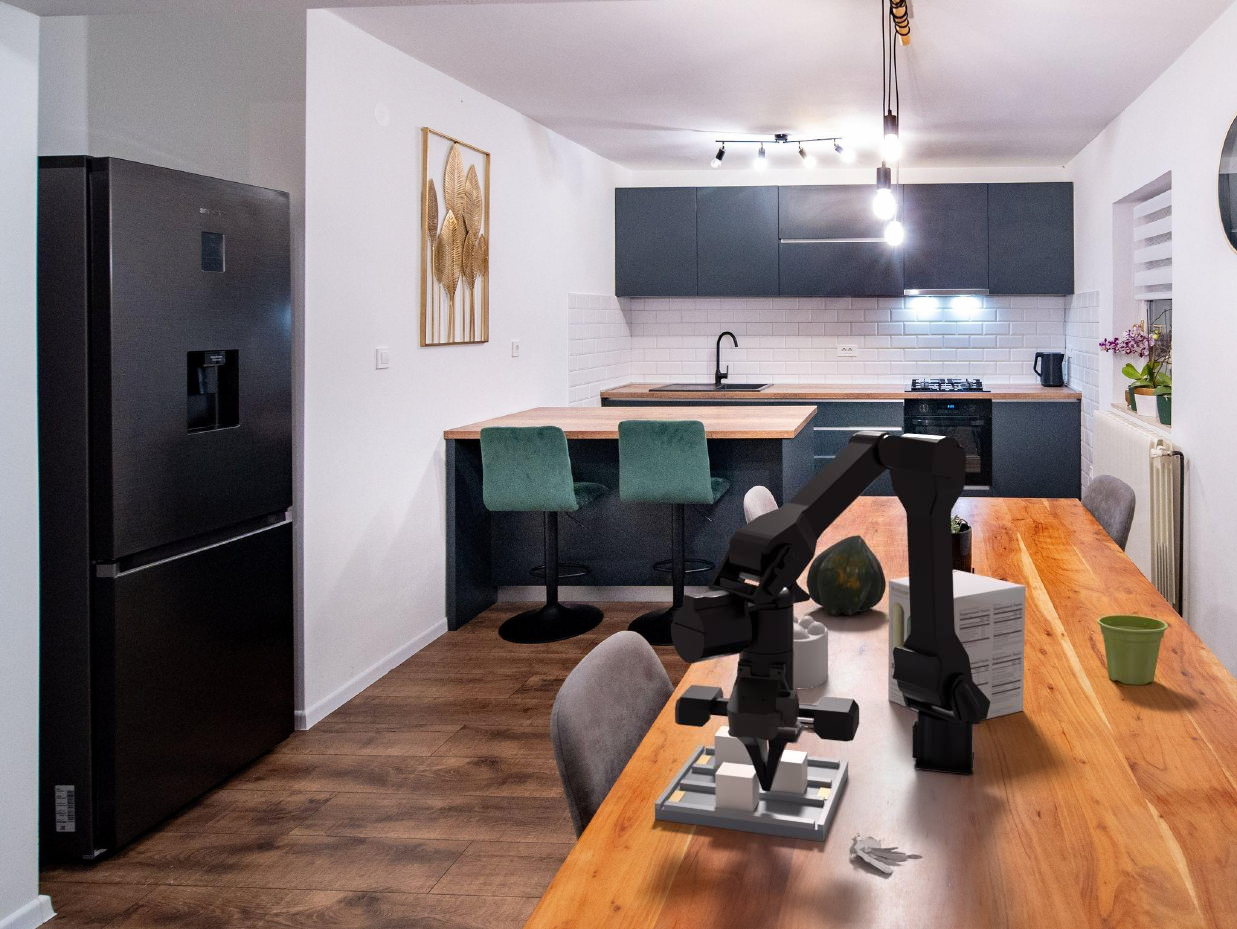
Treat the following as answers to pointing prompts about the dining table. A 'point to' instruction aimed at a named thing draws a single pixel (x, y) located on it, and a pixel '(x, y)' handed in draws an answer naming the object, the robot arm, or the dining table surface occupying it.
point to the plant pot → (1131, 647)
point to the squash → (846, 578)
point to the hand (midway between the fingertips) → (766, 789)
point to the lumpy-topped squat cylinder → (810, 652)
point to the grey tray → (775, 810)
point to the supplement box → (975, 635)
